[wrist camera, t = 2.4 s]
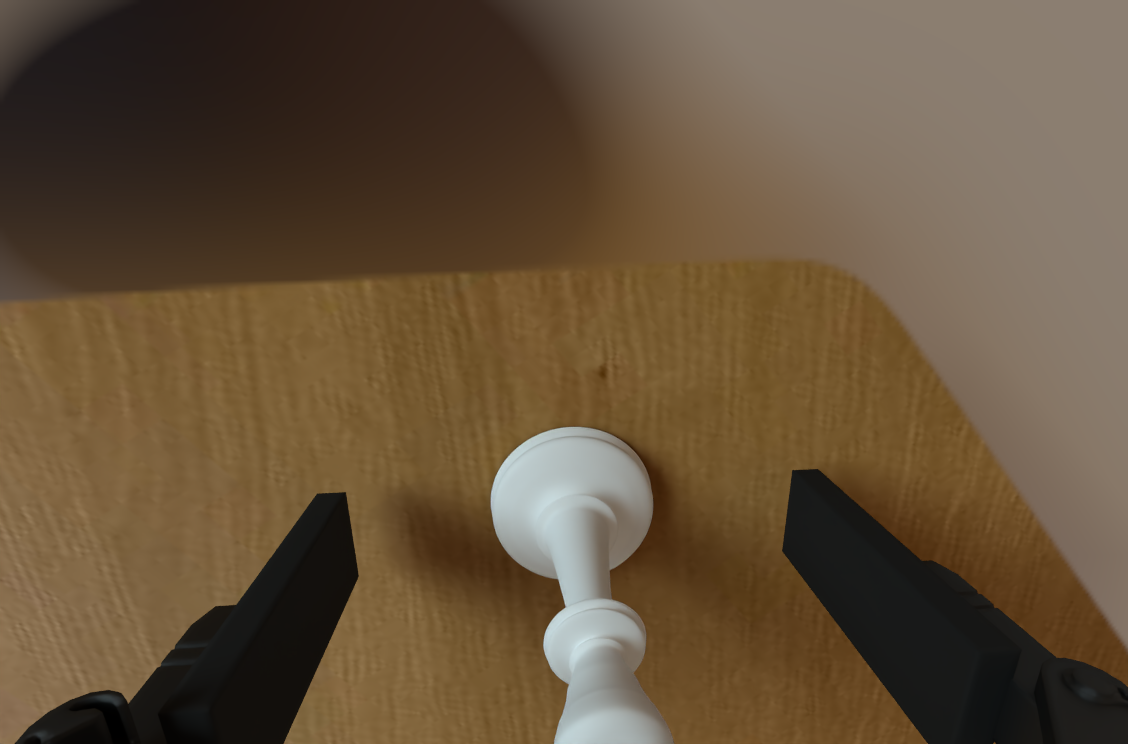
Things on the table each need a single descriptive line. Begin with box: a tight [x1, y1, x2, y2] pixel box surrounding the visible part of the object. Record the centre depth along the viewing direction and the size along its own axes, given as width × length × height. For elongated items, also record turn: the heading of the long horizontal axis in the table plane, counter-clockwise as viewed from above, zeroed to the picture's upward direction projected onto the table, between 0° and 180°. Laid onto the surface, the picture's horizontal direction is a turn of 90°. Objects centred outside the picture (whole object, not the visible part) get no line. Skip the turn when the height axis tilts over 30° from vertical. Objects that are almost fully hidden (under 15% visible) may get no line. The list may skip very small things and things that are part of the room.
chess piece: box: [491, 427, 674, 744], centre depth 11 cm, size 5×5×10 cm
